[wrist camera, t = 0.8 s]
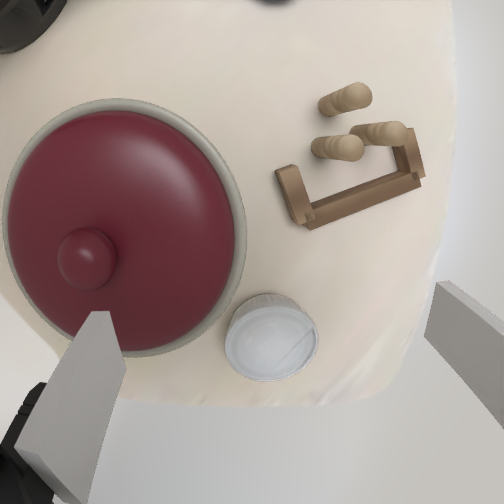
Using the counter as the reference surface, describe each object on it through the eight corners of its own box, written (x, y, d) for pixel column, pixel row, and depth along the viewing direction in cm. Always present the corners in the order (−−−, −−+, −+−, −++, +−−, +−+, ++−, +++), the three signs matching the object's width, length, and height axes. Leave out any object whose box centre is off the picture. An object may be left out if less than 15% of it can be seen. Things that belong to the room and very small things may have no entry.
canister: (64, 230, 34) (-47, 307, 14) (128, 94, 30) (24, 42, 10) (188, 299, 38) (165, 435, 18) (266, 170, 34) (327, 202, 14)
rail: (274, 170, 34) (279, 172, 31) (400, 128, 34) (413, 128, 31) (295, 227, 37) (301, 233, 34) (414, 180, 36) (427, 184, 33)
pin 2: (346, 128, 33) (383, 124, 25) (364, 122, 33) (403, 118, 25) (353, 147, 34) (391, 149, 26) (370, 142, 34) (410, 142, 26)
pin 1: (308, 140, 34) (335, 138, 25) (327, 134, 33) (359, 131, 25) (315, 160, 34) (344, 165, 26) (333, 154, 34) (367, 157, 26)
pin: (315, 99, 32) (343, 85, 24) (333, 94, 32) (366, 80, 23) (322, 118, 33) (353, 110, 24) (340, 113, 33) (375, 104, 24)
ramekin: (300, 358, 43) (309, 382, 38) (221, 357, 42) (222, 382, 37) (315, 287, 40) (327, 307, 35) (226, 283, 38) (227, 303, 33)
